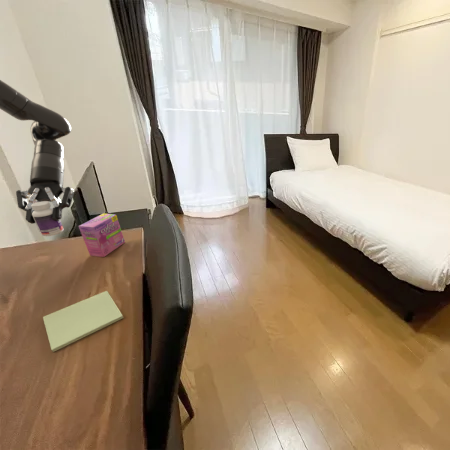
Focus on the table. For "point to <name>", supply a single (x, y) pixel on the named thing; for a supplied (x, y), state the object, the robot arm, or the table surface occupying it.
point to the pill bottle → (46, 219)
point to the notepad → (80, 320)
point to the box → (102, 234)
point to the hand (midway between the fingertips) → (43, 221)
